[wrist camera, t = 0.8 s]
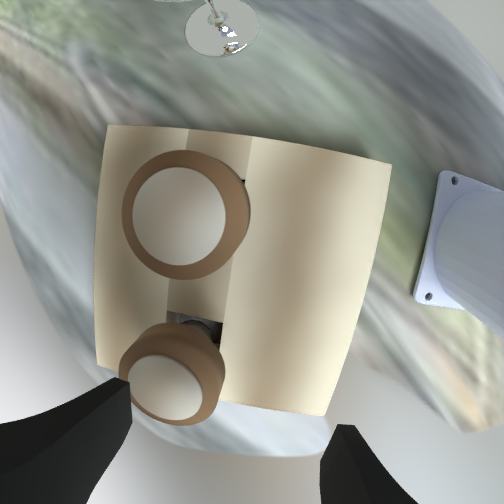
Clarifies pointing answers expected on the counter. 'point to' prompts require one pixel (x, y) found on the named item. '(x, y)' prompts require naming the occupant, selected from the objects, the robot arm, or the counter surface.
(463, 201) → the robot arm
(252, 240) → the knob panel
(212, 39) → the wineglass
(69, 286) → the counter surface
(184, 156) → the knob
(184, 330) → the knob
